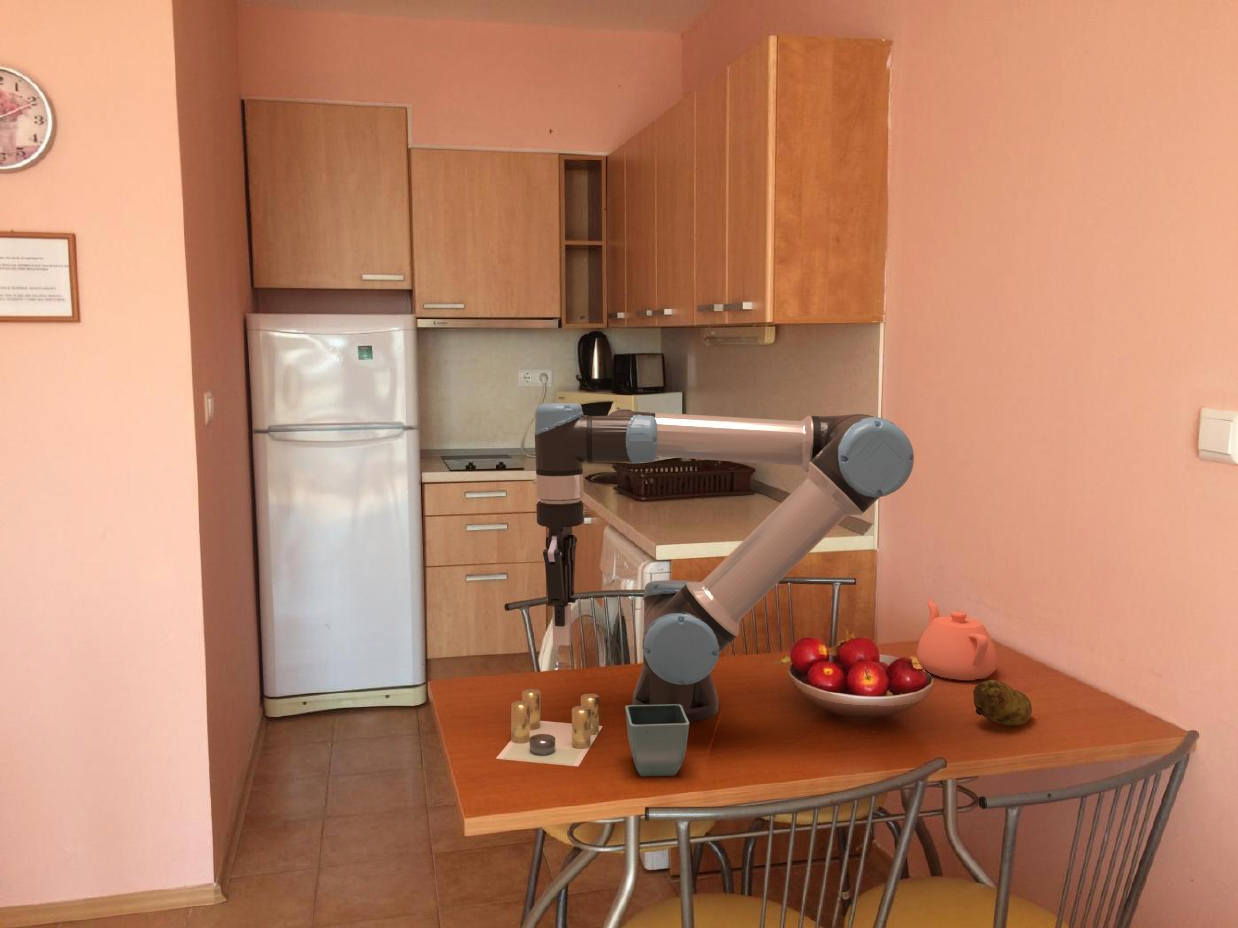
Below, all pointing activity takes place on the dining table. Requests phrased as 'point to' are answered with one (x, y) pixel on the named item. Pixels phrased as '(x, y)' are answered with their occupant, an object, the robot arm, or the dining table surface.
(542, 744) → the dark metal puck
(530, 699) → the cylinder
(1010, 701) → the potato
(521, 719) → the cylinder
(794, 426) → the robot arm
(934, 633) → the teapot
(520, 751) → the board
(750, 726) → the dining table surface
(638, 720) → the flower pot
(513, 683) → the dining table surface
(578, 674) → the dining table surface
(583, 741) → the cylinder
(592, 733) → the cylinder
